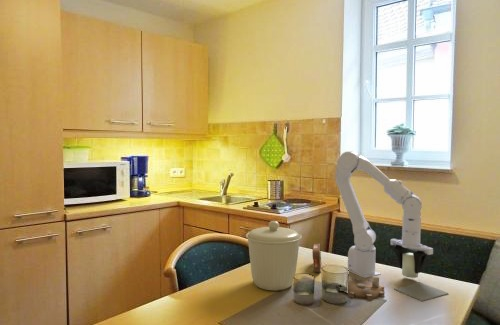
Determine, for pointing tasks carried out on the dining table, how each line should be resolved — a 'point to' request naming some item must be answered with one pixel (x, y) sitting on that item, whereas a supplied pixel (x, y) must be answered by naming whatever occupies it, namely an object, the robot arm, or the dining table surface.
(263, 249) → the canister
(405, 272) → the sage can
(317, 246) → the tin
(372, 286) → the sprocket wheel
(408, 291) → the slate mat
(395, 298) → the dining table surface
